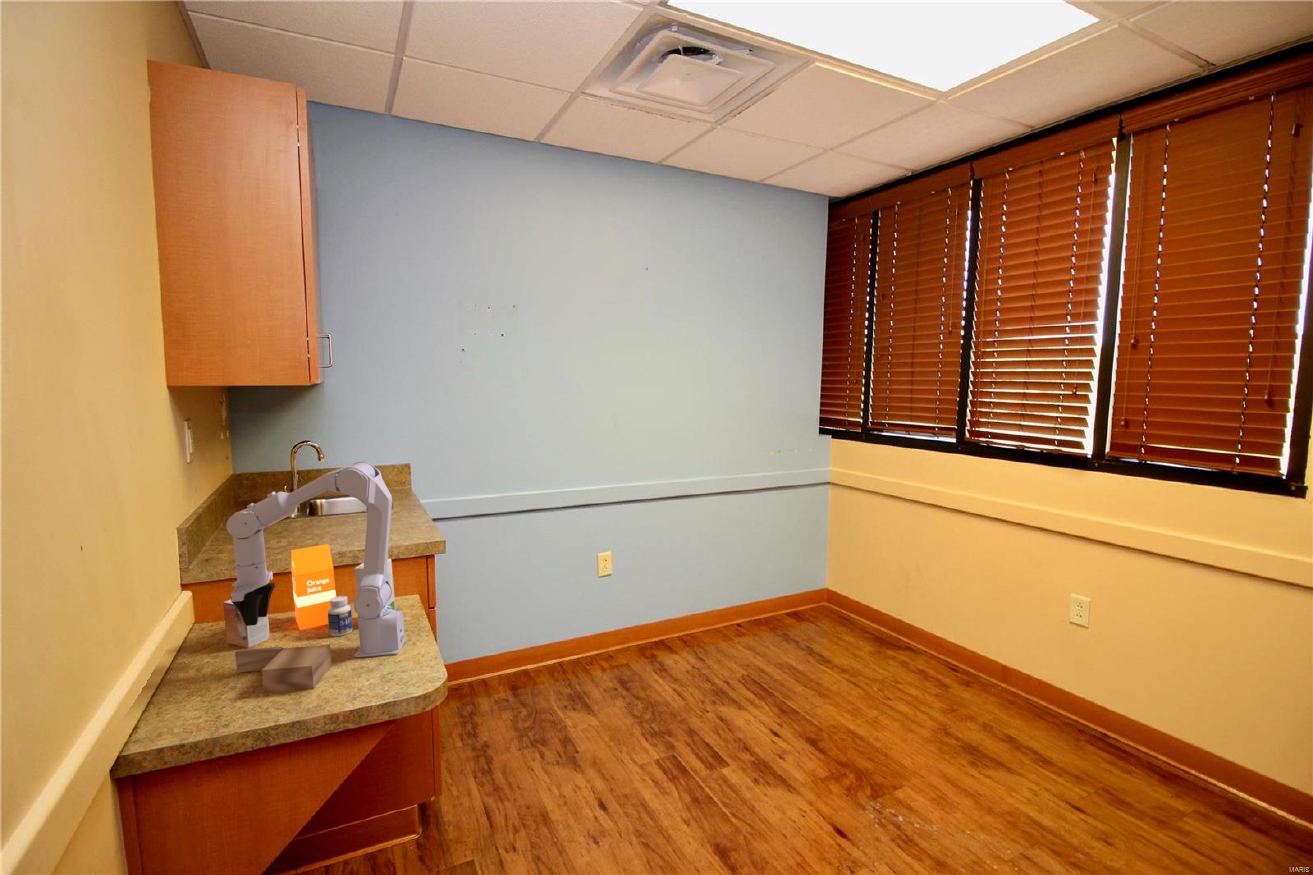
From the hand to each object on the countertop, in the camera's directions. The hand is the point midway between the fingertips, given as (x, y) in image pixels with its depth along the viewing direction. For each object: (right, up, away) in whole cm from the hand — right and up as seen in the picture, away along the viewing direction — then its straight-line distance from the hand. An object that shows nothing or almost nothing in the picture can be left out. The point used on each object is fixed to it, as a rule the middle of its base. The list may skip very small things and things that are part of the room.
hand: (256, 620), depth 140 cm
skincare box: (+17, -7, +23) cm, 29 cm away
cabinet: (+14, -10, -8) cm, 19 cm away
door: (+4, -9, -4) cm, 11 cm away
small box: (-9, -9, +12) cm, 17 cm away
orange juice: (+1, -7, +23) cm, 24 cm away
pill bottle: (+11, -8, +16) cm, 21 cm away
